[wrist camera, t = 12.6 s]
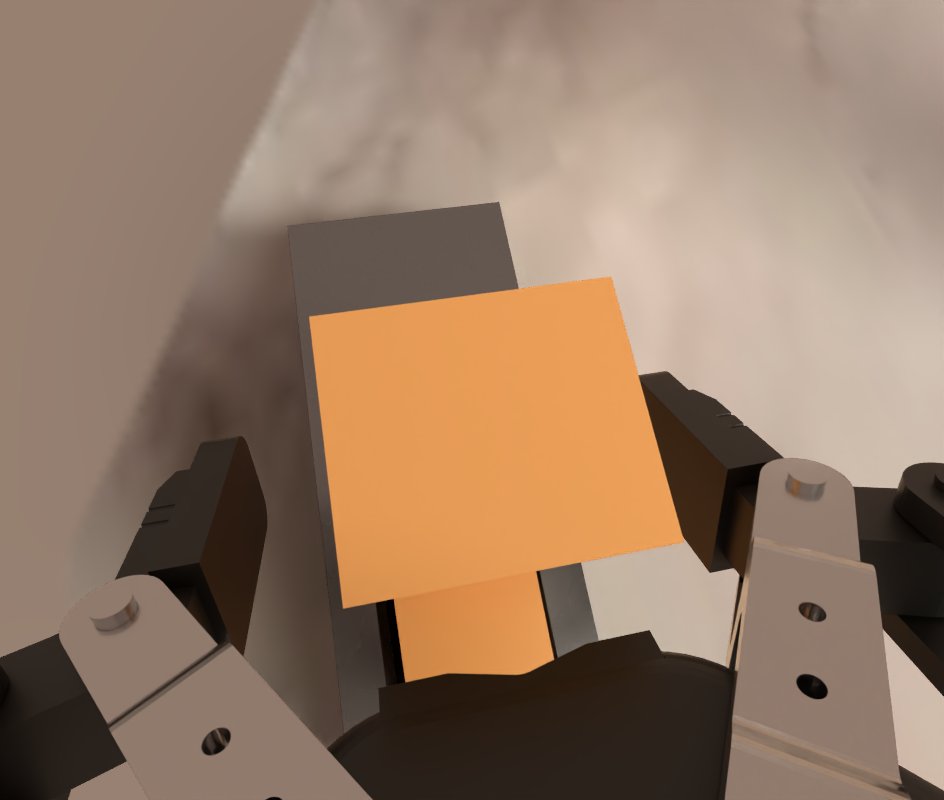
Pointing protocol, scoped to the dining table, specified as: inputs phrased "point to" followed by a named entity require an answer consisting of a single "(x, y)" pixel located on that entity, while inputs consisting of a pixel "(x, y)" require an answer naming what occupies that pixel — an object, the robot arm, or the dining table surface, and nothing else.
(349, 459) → the orange l-shaped step block
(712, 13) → the dining table surface
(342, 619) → the grey slotted bar
